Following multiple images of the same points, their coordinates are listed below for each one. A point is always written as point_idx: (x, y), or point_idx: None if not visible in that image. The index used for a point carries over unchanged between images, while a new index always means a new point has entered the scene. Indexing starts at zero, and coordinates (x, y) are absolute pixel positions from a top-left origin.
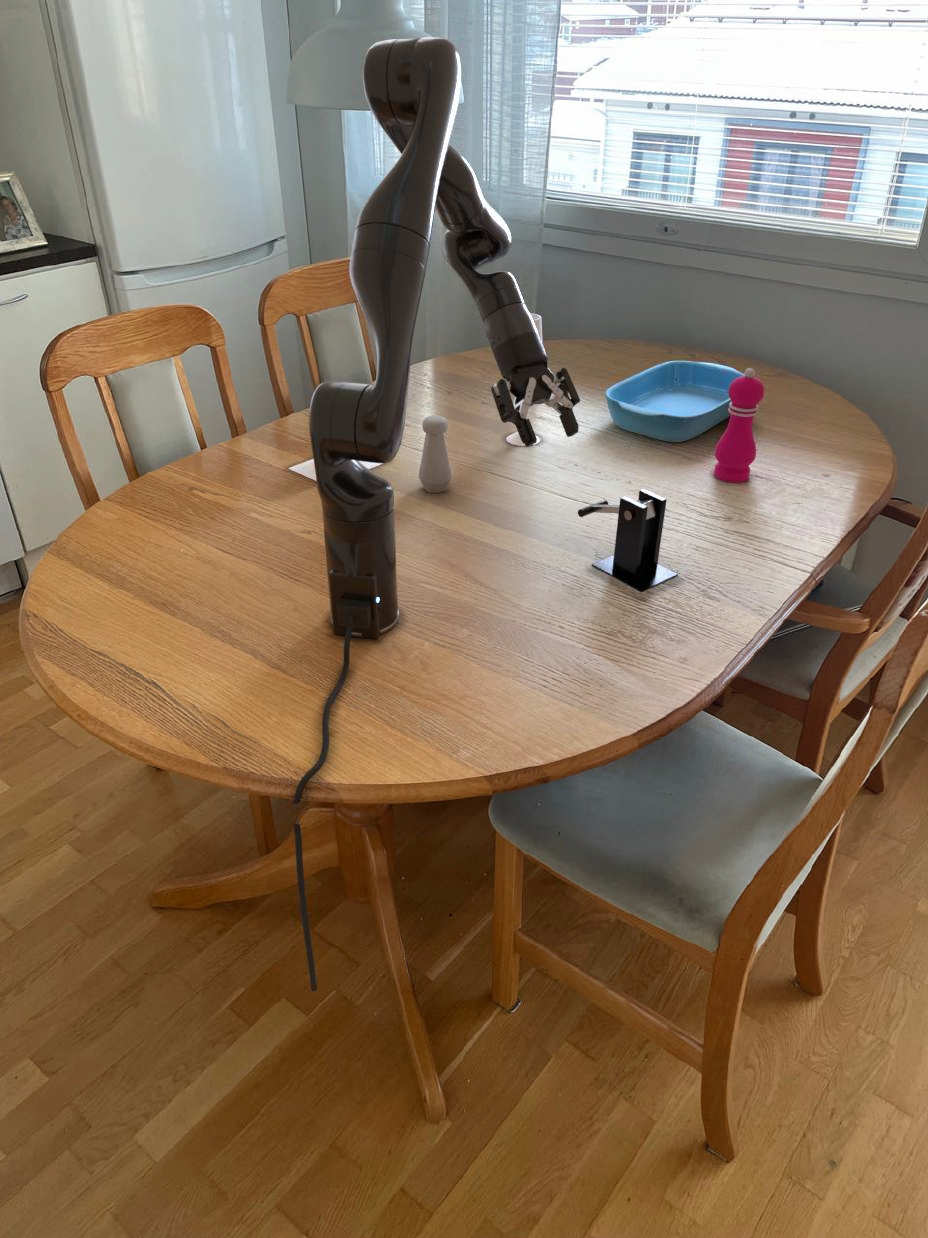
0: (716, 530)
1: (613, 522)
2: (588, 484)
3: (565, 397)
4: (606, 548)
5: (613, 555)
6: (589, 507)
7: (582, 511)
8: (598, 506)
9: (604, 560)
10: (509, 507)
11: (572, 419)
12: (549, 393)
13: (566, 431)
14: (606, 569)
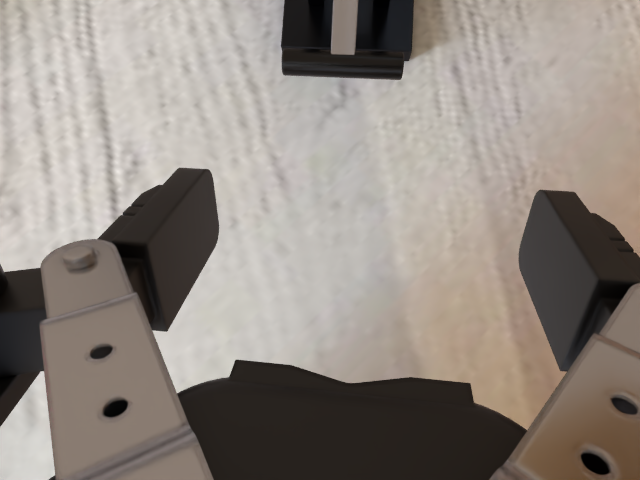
0: (20, 3)
1: None
2: (20, 403)
3: (52, 309)
4: (293, 111)
5: None
6: (366, 54)
7: (402, 53)
8: (355, 21)
9: (373, 44)
10: None
11: (166, 201)
12: (207, 394)
13: (208, 247)
14: (403, 13)
